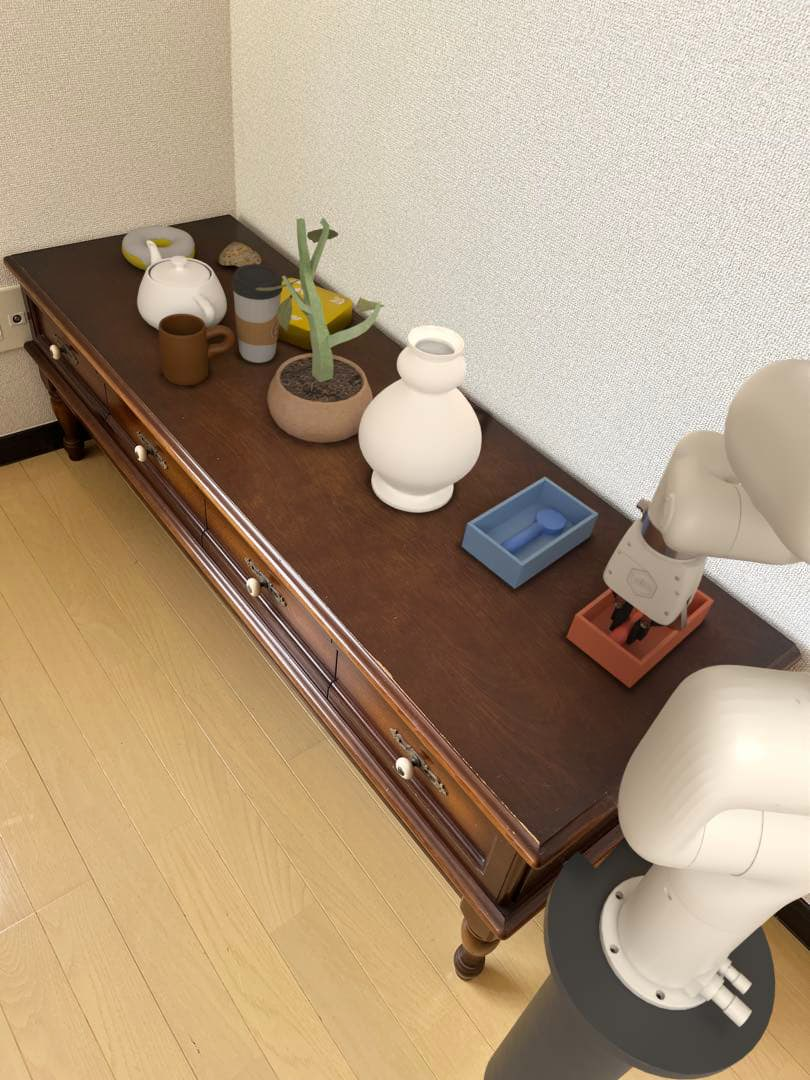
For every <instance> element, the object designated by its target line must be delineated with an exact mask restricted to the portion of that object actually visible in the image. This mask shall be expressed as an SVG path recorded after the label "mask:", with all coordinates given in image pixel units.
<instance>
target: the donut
mask: <svg viewBox="0 0 810 1080" xmlns="http://www.w3.org/2000/svg"><path fill="white" fill-rule="evenodd" d="M148 240H150V241H152V242H154V243H155V245H156V246H157V248H158V250H159V253H160V255H161V257H162V259H166V258H172V257H174V256H184V257H186V258H191V259H195V255H196V254H195V253H196V248H195V246H196V245H195V241H194V239H193V236H192V235H190V234H189V233H188V232H186V231H185V230H182V229H179V228H176V227H172V226H168V225H147V226H146V225H145V226H140V227H138V228H135V229H133V230H131V231H130V232H128V233H127V234H126V235H124V237H123V240H122V242H121V244H122V245H121V252H122V255H123V257H124V258H125V259H126V260H127V262H128V263H130V264H131V265H132V266H134V267H136V268H138V269H139V270H142V271H144V272H146V270H147V268H148V267H149V266H150V265H151V257H150V251H149V248H148V246H147V243H146V241H148Z"/></svg>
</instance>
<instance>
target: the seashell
mask: <svg viewBox="0 0 810 1080" xmlns="http://www.w3.org/2000/svg"><path fill="white" fill-rule="evenodd" d="M262 261H263V259H262V257H261V256H260V254H259V253H258V252H257V251H256V250H254V249H252V248H251V247H250V246H248V245H246V244H244V243H242V242H239V241H232V242H231V243H229V244H228V245H227V246H226V247H225V248H224V249H223V250H222V252H221V253H220V254H219V256H218V263H219V264H220V265H221V266H228V267H229V266H230V267H231V266H235V267H237V268H239V267H241V266H244V265H250V264H260V265H261V264H262Z"/></svg>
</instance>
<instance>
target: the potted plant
mask: <svg viewBox="0 0 810 1080" xmlns="http://www.w3.org/2000/svg"><path fill="white" fill-rule="evenodd" d="M319 224H321V226H322V228H318V229H312V230H311V231H308V232H307V228H306V219H304V218H302V217H301V218H296V237H297V238H296V239H297V240H296V241H297V249H298V256H299V266H298V269H299V271H298V272H299V279H298V280H297V281H299V280H300V282H301V285H302V290H303V295H304V300H303V299H302V297H301V296H300V295H299V294H298V293H297V292H296V291H295V289H294V288H293V286H292V284H293V283H295V282H297V281H293V282H289V280H288V277H287V276H286V275H283V276H281V279H282V281H283V280H284V282H285V284H284V285H280V286H277V287H269V288H260V287H257V288H256V290H259V291H272V290H275V289H279V288H282V287H285V286H287V288H288V290H289V292H290V293H291V295H290V296H289V297H288V298H287V299H285V300H284V301H283V302H282V303H281V304H280V306H279V308H278V310H277V318H278V322H279V324H280V325H281V327H282V328H283V329H284V330H285V331H286V332H287V334H288V326H289V323H290V319H291V316H292V301H291V299H292V297H293V298H294V300H295V302H296V303H297V305H298V306H299V308H300V309H301V311H302V312H303V313H304V314H305V315H306V317H307V319H308V321H309V326H310V339H311V345H312V350H311V353H310V352H309V353H304V354H298V355H295V356H293V357H290V358H288V359H287V360H285V361H284V362H283V363H281V364H280V365H279V367H278V368H277V370H276V371H275V374H274V375H273V378H272V379H271V381H270V383H269V386H268V391H267V396H266V400H267V406H268V410H269V414H270V416H271V417H272V419H273V421H274V422H275V423H276V425H277V426H278V427H279V428H280V429H281V430H282V431H284V432H285V433H287V434H288V435H290V436H292V437H294V438H296V439H299V440H303V441H306V442H310V443H322V444H323V443H324V444H325V443H335V442H339V441H344V440H347V439H348V438H349V439H350V438H351V437H353V436H355V435H356V434H357V435H358V434H359V426H360V422H361V419H362V416H363V414H364V412H365V410H366V408H367V407H368V405H369V404H370V403H371V401H372V400H373V399H374V397H373V392H372V389H371V386H370V383H369V381H368V378H367V376H366V374H365V371H364V370H363V369H362V368H361V367H360V366H359V365H358V364H356V363H355V362H353V361H352V360H349V359H347V358H345V357H343V356H339V355H335V354H333V351H332V349H331V348H333V347H335V346H337V345H339V344H342V343H345V342H348V341H350V340H353V339H356V338H357V337H359V336H361V335H362V334H364V333H366V332H367V331H368V330H369V329H370V328H371V327H372V325H374V324H375V322H376V320H377V317H378V316H379V313H380V310H381V308H384V307H385V306H386V305H384V304H382V302H381V301H372V300H371V301H370V300H368V299H365V298H362V297H359V299H358V301H357V303H356V307H355V310H354V312H355V313H364V312H368V311H373V312H372V313H370V315H369V316H368V317H367V318H366V319H365V320H363V321H362V322H360V323H358V324H356V325H354V326H352V327H350V328H347V329H346V328H345V329H343V330H341V331H340V332H337V333H335V334H333V335H329V331H328V328H327V325H326V322H325V318H324V315H323V312H322V303H321V301H320V298H319V296H318V294H317V291H316V288H315V286H316V285H315V282H314V278H315V274H316V271H317V269H318V266H319V263H320V260H321V258H322V254H323V251H324V248H325V246H326V243H327V240H333V239H335V238H337V237H339V233H338V232H337V231H336V230H333V229H331V228H330V224H329V223H328V221H327V220H326V218H324V217H322V218H321V220H320V222H319ZM308 240H310V241H312V243H313V244H315V243H317V244H316V246H315V249H314V252H313V253H312V256H310V251H309V246H308Z"/></svg>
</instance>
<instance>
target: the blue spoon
mask: <svg viewBox="0 0 810 1080" xmlns="http://www.w3.org/2000/svg"><path fill="white" fill-rule="evenodd" d="M565 524H566V520H565V518H564V516H563V515H562V514H561V513H559V512H557V511H555V510H551V509H544V510H541V511H539V512H538V513H537V515H536V518H535V522H534V523H533V524H531V525H530V526H528V527H527V528H525V529H523V530H522V531H520V532H519V533H517V534H516V535H514V536H513V537H511V538H509V539H508V540H506V541H505V542H503V543H502V544H500V545H501V546H502V547H503V548H505V549H506V550H507V551H508V552H510V553H511V554H512V553H514V552H515V551H517V550H519V549H520V548H522V547H523V546H525V545H526V544H528V543H529V542H531V541H532V540H534V539H535V538H537V537H538V536H540V535H541V534H543V533H544V534H547V535H558V534H560V533H561V532H562V531H563V529H564V527H565Z"/></svg>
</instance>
